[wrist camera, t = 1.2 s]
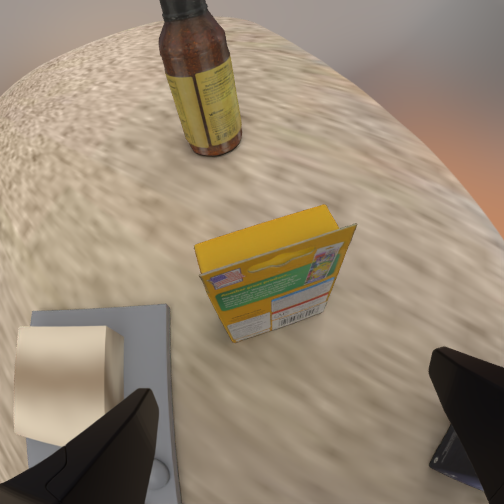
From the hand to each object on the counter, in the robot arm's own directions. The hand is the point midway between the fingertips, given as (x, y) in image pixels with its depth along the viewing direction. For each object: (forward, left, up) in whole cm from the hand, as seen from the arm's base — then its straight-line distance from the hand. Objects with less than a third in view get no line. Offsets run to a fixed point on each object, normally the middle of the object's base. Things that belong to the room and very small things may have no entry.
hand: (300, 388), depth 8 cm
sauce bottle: (+27, +4, -13) cm, 30 cm away
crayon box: (+7, 0, -13) cm, 15 cm away
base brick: (+1, +16, -12) cm, 20 cm away
